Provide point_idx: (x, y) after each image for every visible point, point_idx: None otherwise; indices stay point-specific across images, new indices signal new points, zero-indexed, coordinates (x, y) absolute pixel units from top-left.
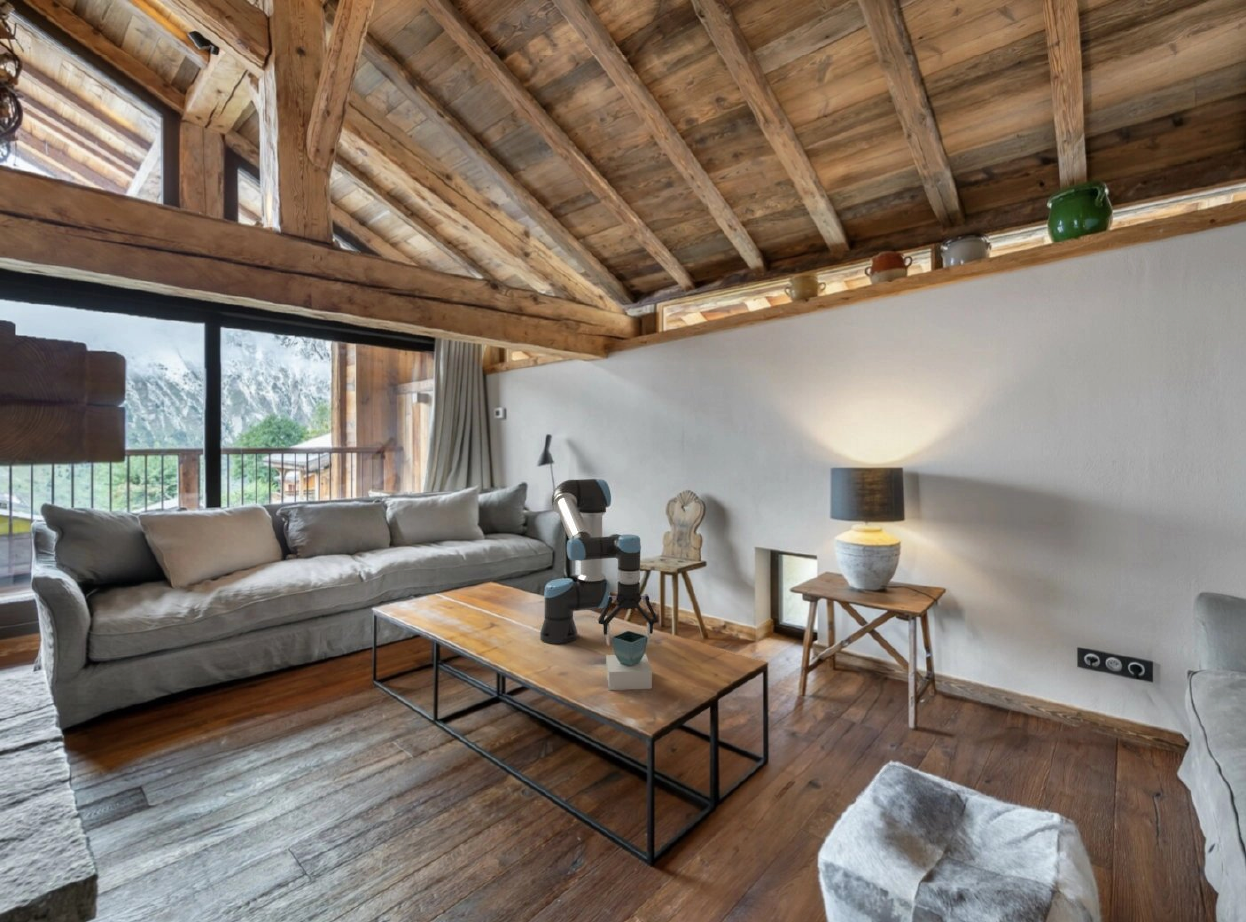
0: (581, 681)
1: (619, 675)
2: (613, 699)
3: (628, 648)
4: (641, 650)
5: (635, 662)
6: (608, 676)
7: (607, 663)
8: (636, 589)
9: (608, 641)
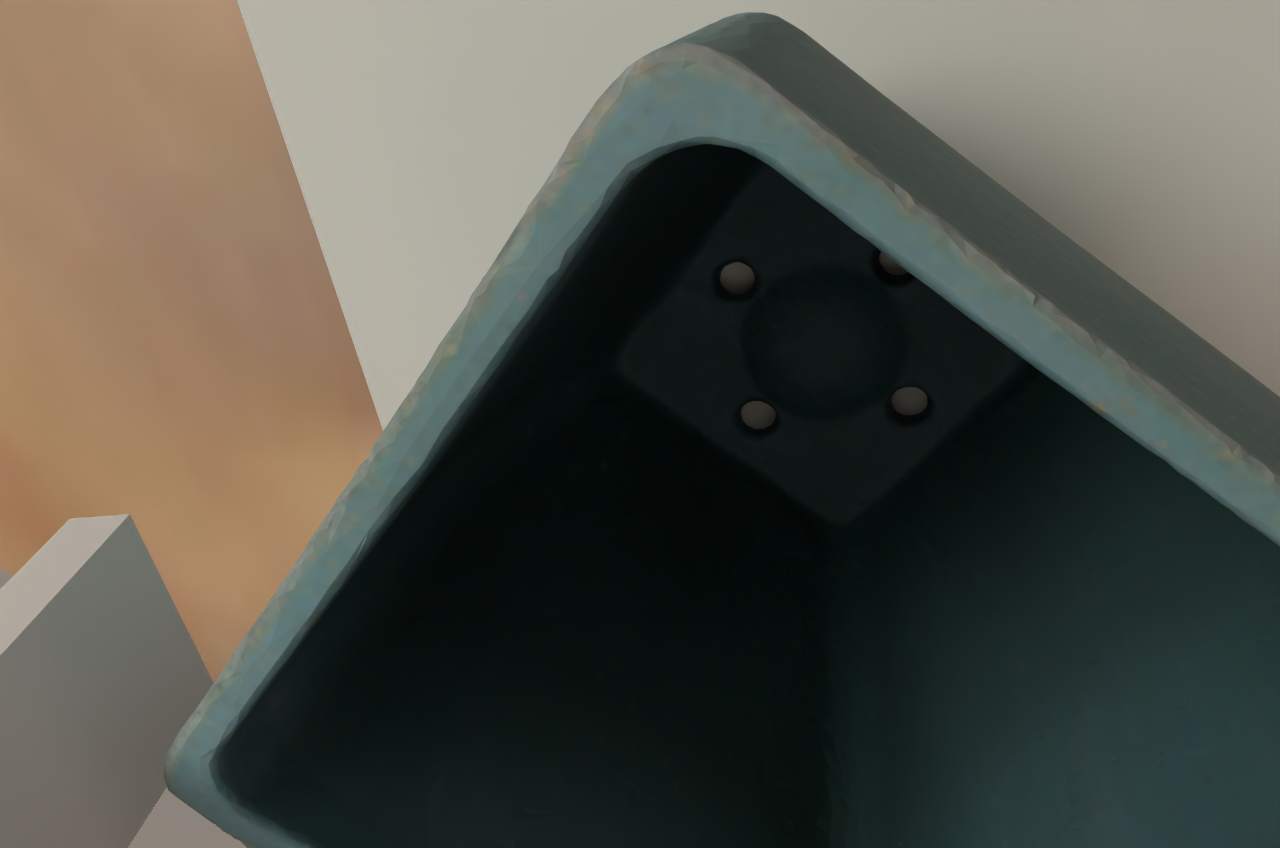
0: (102, 274)
1: None
2: None
3: None
4: (1164, 626)
5: (955, 496)
6: None
7: (358, 322)
8: None
9: (141, 783)
